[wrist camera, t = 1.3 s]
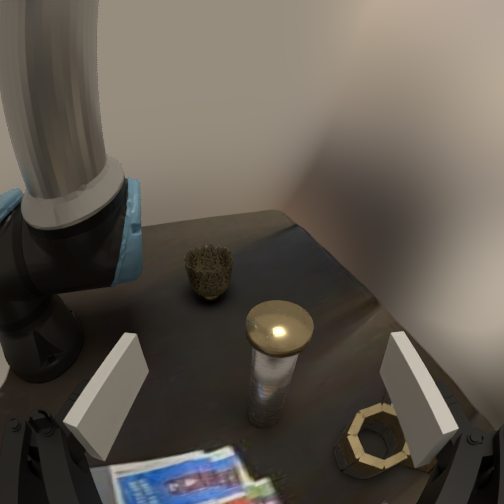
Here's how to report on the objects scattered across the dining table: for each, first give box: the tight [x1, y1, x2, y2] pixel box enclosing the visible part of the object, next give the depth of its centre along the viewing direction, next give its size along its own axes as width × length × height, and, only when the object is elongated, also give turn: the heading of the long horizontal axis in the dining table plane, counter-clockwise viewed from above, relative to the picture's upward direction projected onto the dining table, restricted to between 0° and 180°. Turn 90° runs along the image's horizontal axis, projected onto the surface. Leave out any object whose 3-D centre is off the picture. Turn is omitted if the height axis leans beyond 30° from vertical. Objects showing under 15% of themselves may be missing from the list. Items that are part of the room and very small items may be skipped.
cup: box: [184, 244, 234, 303], centre depth 43 cm, size 8×7×8 cm
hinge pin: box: [246, 300, 313, 429], centre depth 23 cm, size 5×5×16 cm
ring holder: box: [333, 390, 437, 480], centre depth 22 cm, size 14×20×5 cm
